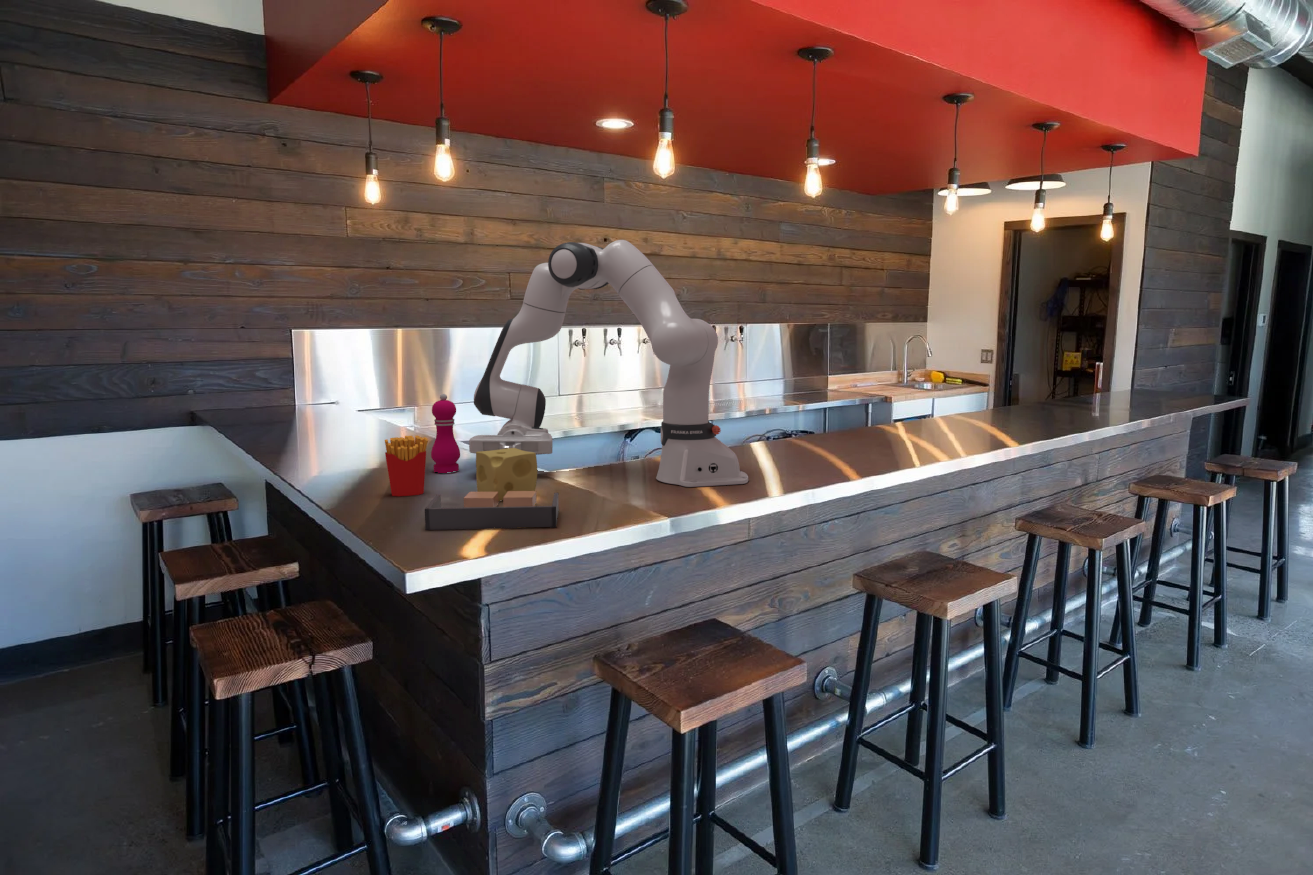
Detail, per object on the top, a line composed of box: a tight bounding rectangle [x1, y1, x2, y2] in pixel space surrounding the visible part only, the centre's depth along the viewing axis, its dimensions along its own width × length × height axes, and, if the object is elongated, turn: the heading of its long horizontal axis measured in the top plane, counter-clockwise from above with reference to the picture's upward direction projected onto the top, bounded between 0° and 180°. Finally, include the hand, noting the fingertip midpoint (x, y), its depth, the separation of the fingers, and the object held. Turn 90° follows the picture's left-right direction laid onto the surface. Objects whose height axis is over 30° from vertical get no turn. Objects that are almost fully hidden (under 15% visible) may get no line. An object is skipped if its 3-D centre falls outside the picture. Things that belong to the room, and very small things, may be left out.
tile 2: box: [502, 490, 537, 507], centre depth 167 cm, size 6×6×3 cm
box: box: [424, 492, 560, 531], centre depth 156 cm, size 24×12×4 cm, turn 95°
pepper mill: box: [430, 393, 461, 474], centre depth 202 cm, size 7×7×20 cm
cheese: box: [475, 448, 538, 501], centre depth 177 cm, size 10×11×10 cm
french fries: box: [384, 435, 429, 497], centre depth 178 cm, size 9×4×13 cm, turn 111°
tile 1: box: [463, 491, 500, 507], centre depth 166 cm, size 6×6×3 cm
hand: (508, 450), depth 189 cm, fingers closed
